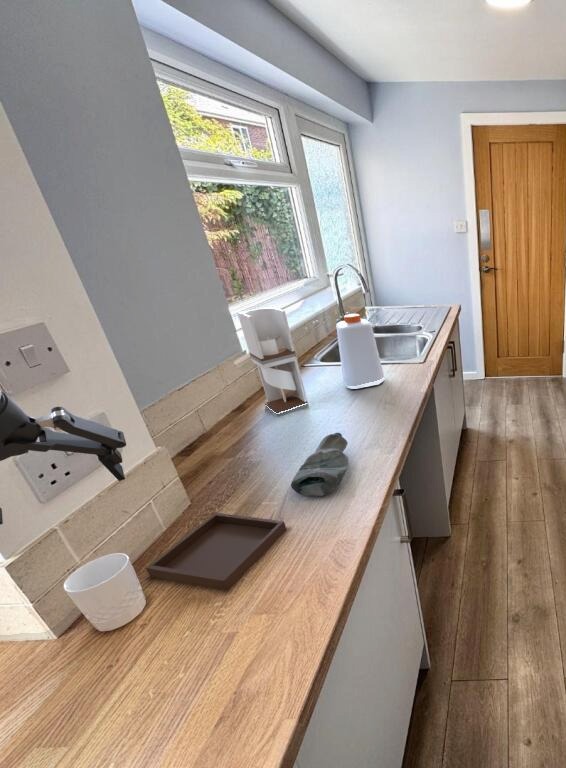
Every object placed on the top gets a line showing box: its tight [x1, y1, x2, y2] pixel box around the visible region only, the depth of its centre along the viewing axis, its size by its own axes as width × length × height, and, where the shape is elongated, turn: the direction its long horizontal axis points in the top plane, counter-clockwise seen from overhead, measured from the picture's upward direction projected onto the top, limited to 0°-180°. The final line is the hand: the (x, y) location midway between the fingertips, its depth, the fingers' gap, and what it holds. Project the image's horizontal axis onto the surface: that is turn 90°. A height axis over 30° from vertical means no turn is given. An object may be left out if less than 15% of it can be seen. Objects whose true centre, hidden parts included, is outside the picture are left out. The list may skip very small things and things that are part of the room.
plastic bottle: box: [335, 313, 385, 386], centre depth 160 cm, size 15×15×28 cm
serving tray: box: [145, 512, 287, 591], centre depth 82 cm, size 18×16×2 cm
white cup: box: [62, 552, 147, 632], centre depth 68 cm, size 8×8×10 cm
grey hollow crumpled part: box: [290, 432, 349, 498], centre depth 107 cm, size 13×7×25 cm
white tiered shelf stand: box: [237, 306, 309, 418], centre depth 139 cm, size 11×11×35 cm
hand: (63, 494), depth 62 cm, fingers open, 13 cm apart
